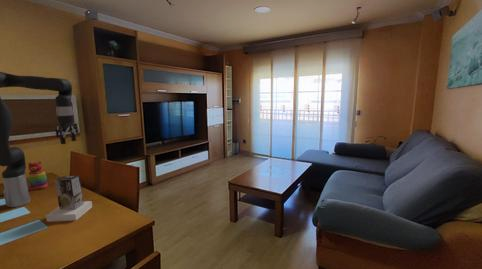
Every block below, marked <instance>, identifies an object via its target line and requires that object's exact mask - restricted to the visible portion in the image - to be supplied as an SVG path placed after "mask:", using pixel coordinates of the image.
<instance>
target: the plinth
mask: <svg viewBox="0 0 482 269" xmlns="http://www.w3.org/2000/svg"><path fill="white" fill-rule="evenodd" d="M83 202H84V204H83V205H81V206H79V207H78V208H76V209H59V206H57V207H56V208H55V209H53V210H51V211H50V212H49V213H47V214H46V215H45V217H46V218H45V219H46V222H48V223H49V222H68V221H70V222H71V221H72V222H73V221H77V220H78V219H80V217H82V216H84V214H85V213H87V212H88V211H89V210H90V209H91V208H93V203H92V200H90V201H89V200H87V201H86V200H85V201H84V200H83Z"/></svg>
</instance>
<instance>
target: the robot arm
mask: <svg viewBox="0 0 482 269" xmlns="http://www.w3.org/2000/svg"><path fill="white" fill-rule="evenodd" d="M1 88H24V89H25V88H26V89H31V90H40V91H54V92H58V95H56V97H55V98H54V99H55V100H54V101H55V109H56V112H55V113H56V117H57V118H56V119H57V123H58V124H59V125H58V126H57V125H55V137H56V138H59V140H60V144H61V145H66V144H67V142H66V135H67V134H68V133H69V134H70V136H71V141H72V142H77V136H76V135H77V134H78V133H79V129H78V124H77V123H75V117H74V116H75V115H74V108H73V105H72V104H73V103H72V94H73V85H72V82H71V81H69V79H66V78H58V77H46V76H45V77H44V76H36V75H18V74H11V73H7V72H4V71H0V89H1ZM13 128H14V120H13V115H12V112H11V110H10V108H9V107H8V106H7V105H6V103H5V102H4V101H3V99H2V97H0V167H6V168H5V169H4V170H3V171H2V172H1V177H2V182H3V186H4V190H2V191H3V196H4V197H3V198H4V202H5V207H9V208H17V207H21V206H24V205H27V204H28V203H30V202H31V198H30V197H31V196H30V193H29V192H30V191H28V187H29V186H28V183H27V182H28V180H27V176H26V169H27V166H26V157H25V155H26V154H25V152H24V151H23V150H22V149H21V148H20V147H17V146H10V136H11V134H12V131H13Z"/></svg>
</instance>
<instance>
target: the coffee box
mask: <svg viewBox="0 0 482 269" xmlns="http://www.w3.org/2000/svg"><path fill="white" fill-rule="evenodd" d="M54 184H55V190H56V196H57V197H56V198H57V201H58V202H57V203H58V207H59V209H76V208H78V207H79V206H81V205H83V204H84V202H83V201H84V196H83V195H84V194H83V189H82V181H81V175H63V176H61V177H59V178H57V179H54Z"/></svg>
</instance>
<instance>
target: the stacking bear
mask: <svg viewBox="0 0 482 269" xmlns="http://www.w3.org/2000/svg"><path fill="white" fill-rule="evenodd" d="M42 167H43V165H42V162H41V161H37V162H29V163H28V171H29V172H28V175H27V182H28V183H29V186H28V191H29V192H32V191H35V190H44V189H47V188H48V187H49V184H48V183H47V180H48V178H47V174H46V172H45V171H44V169H42Z"/></svg>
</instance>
